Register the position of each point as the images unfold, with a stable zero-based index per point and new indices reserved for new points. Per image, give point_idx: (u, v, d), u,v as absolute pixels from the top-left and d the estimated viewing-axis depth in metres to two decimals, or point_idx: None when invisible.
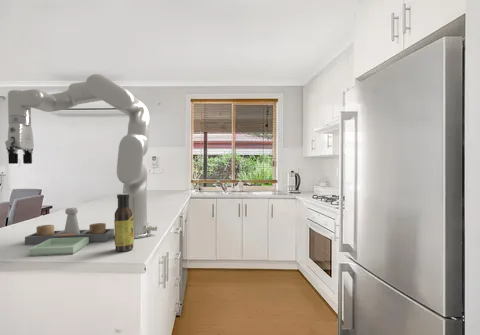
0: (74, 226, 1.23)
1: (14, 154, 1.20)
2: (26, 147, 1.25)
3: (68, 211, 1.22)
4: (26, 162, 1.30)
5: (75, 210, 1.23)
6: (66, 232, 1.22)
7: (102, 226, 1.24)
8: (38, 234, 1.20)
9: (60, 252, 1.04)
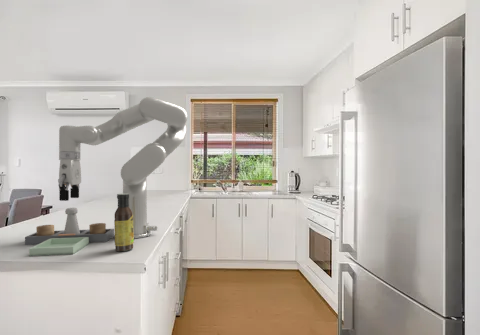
0: (74, 226, 1.23)
1: (65, 191, 1.18)
2: (76, 183, 1.23)
3: (68, 211, 1.22)
4: (73, 196, 1.28)
5: (75, 210, 1.23)
6: (66, 232, 1.22)
7: (102, 226, 1.24)
8: (38, 234, 1.20)
9: (60, 252, 1.04)
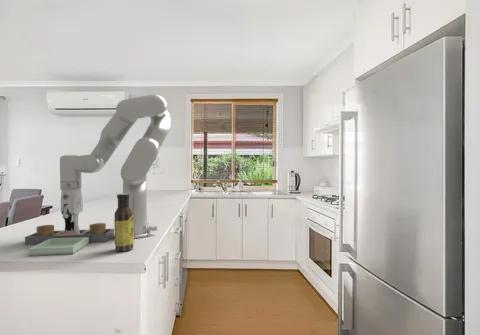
0: (74, 226, 1.23)
1: (71, 223, 1.22)
2: (77, 212, 1.24)
3: None
4: None
5: None
6: (66, 232, 1.22)
7: (102, 226, 1.24)
8: (38, 234, 1.20)
9: (60, 252, 1.04)
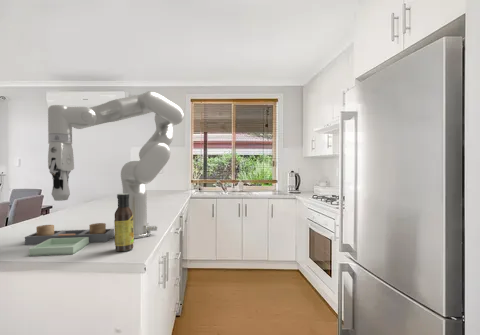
0: (63, 184, 1.11)
1: (59, 180, 1.10)
2: (67, 168, 1.11)
3: None
4: None
5: None
6: (54, 190, 1.09)
7: (102, 226, 1.24)
8: (38, 234, 1.20)
9: (60, 252, 1.04)
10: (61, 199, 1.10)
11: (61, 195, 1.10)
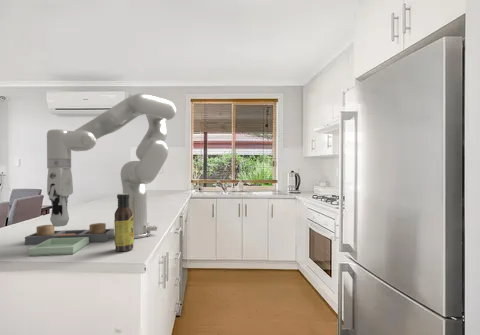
0: (62, 210, 1.09)
1: (58, 206, 1.08)
2: (66, 194, 1.10)
3: None
4: None
5: None
6: (53, 216, 1.08)
7: (102, 226, 1.24)
8: (38, 234, 1.20)
9: (60, 252, 1.04)
10: (60, 225, 1.09)
11: (60, 221, 1.08)
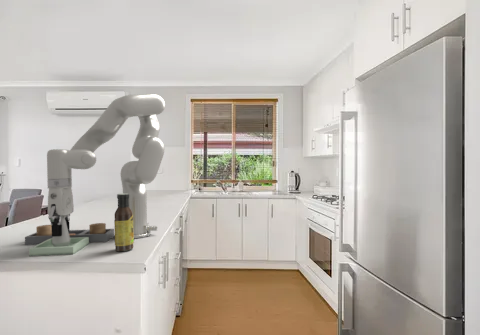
0: (63, 232, 1.09)
1: (58, 226, 1.07)
2: (67, 213, 1.10)
3: (56, 215, 1.08)
4: None
5: None
6: (54, 239, 1.08)
7: (102, 226, 1.24)
8: (38, 234, 1.20)
9: (60, 252, 1.04)
10: None
11: (62, 243, 1.08)
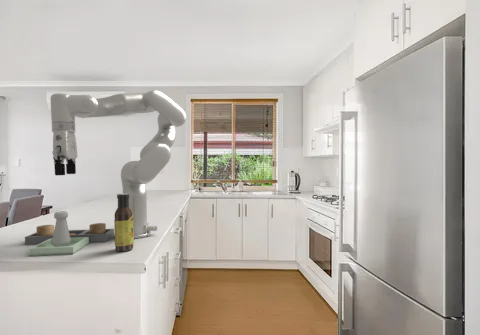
0: (63, 232, 1.09)
1: (61, 165, 1.08)
2: (72, 156, 1.13)
3: (57, 215, 1.08)
4: (70, 172, 1.18)
5: (65, 214, 1.10)
6: (55, 239, 1.08)
7: (102, 226, 1.24)
8: (38, 234, 1.20)
9: (60, 252, 1.04)
10: None
11: (62, 244, 1.08)
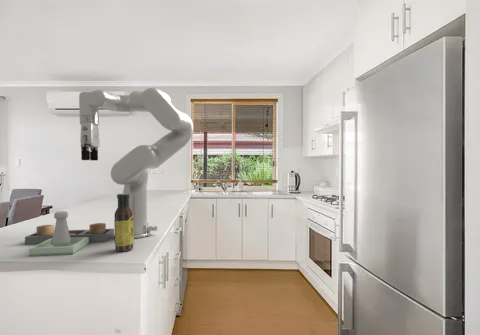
0: (63, 232, 1.09)
1: (87, 151, 1.29)
2: (95, 145, 1.34)
3: (57, 215, 1.08)
4: (93, 159, 1.39)
5: (65, 214, 1.10)
6: (55, 239, 1.08)
7: (102, 226, 1.24)
8: (38, 234, 1.20)
9: (60, 252, 1.04)
10: None
11: (62, 244, 1.08)
